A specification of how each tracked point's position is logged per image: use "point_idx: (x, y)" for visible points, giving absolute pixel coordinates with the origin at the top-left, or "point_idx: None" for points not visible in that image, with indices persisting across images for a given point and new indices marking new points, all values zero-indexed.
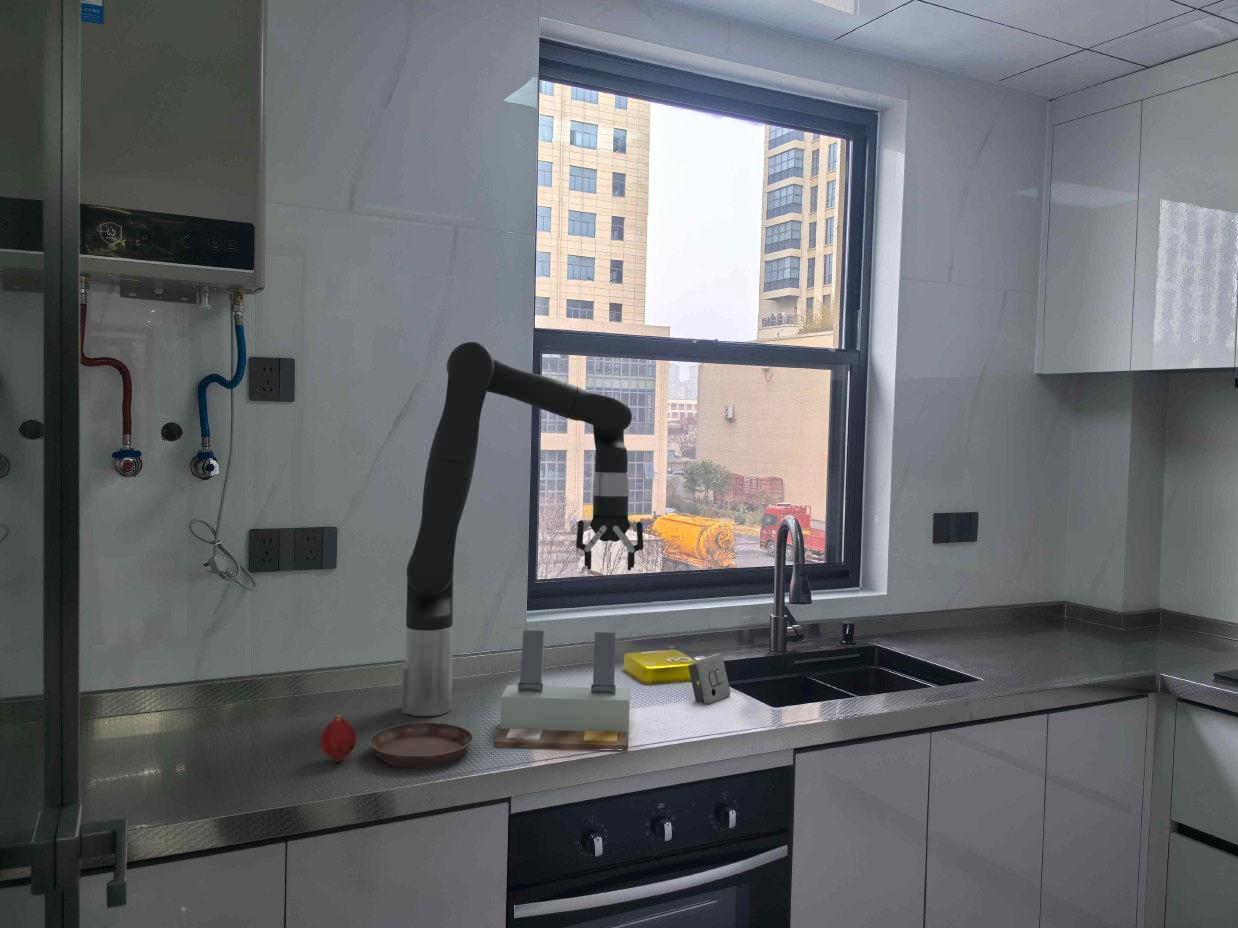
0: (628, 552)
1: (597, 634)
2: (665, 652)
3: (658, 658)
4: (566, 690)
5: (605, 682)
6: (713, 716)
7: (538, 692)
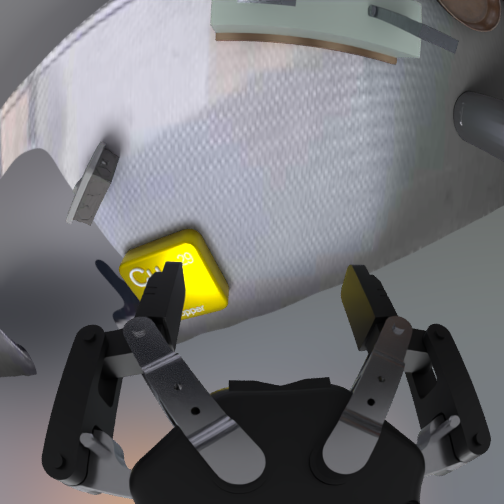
0: (170, 343)
1: None
2: None
3: None
4: (328, 12)
5: None
6: (96, 90)
7: None
